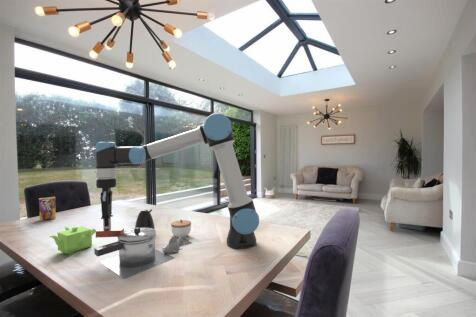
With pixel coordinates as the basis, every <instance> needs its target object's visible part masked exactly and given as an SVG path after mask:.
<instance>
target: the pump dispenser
mask: <svg viewBox="0 0 476 317" xmlns="http://www.w3.org/2000/svg"><path fill="white" fill-rule="evenodd" d="M152 212H153V209H152V208H150V209H149V210H148V209H141V210H140V212H139V213H138V215H137V218H136V222H135V224H134V228H137V227H140V228H152V229H155V230H156V228H155V223H154V219H153V216H152Z"/></svg>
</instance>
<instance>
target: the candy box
mask: <svg viewBox="0 0 476 317" xmlns="http://www.w3.org/2000/svg"><path fill="white" fill-rule="evenodd" d="M38 206H39V207H38V208H39V211H38V212H39V222H42V221H48V220H49V221H50V220H55V219H56V214H57V213H56V196H51V197H50V196H49V197H40V198H38Z"/></svg>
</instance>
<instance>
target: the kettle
mask: <svg viewBox="0 0 476 317" xmlns="http://www.w3.org/2000/svg"><path fill="white" fill-rule="evenodd" d="M64 229H65V230H63V231H62V230H61V231H58V232H57V235H51V236H48V238H52V239H53V240H54V243H55V245H56V246H57V250H58V251H60V252H62V253H64V254H65V255H69V256H72V255H74V254H75V253H76V252H78V251H81V250H85V249H87V248H91V247H92V246H93V235H95V234H96V231H97V230H96V229H94V228H92V229H91V228H88V227H86V226H85V227H84V226H73V227H71V228H69V227H68V226H65V227H64Z"/></svg>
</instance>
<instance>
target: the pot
mask: <svg viewBox="0 0 476 317" xmlns="http://www.w3.org/2000/svg"><path fill="white" fill-rule="evenodd" d="M155 249H156V235H155V236H154V237H152V238H150V239H147V240H144V241H139V242H122V241H119V240H118V239H117V241H114V242H110V243H107V244H103V245H100V246H96V247H94V249H93V250H94V252H93V253H94V256H96V257H101V256H104V255H108V254H111V253H114V252H117V251H118V255H119V264H120V265H121V266H122V267H127V268H133V267H140V266H144V265H147V264H149V263H151V262H152V261H153V260H154V259H155Z"/></svg>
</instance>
